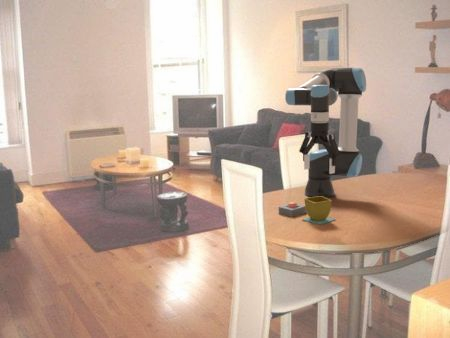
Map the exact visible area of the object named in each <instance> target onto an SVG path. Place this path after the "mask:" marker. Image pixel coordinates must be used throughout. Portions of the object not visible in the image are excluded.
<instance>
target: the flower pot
mask: <svg viewBox="0 0 450 338" xmlns="http://www.w3.org/2000/svg"><path fill="white" fill-rule="evenodd" d="M332 202H333V201H332V199H330V198H328V197H323V196H318V197H305V198H304V206H305V207H306V214H307V215H308V218H309V217H310V218H311V219H313V220H315V221H318V220H325V219H326V218H327V217H328V218H329V215H330V212H331V209H332Z"/></svg>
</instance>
